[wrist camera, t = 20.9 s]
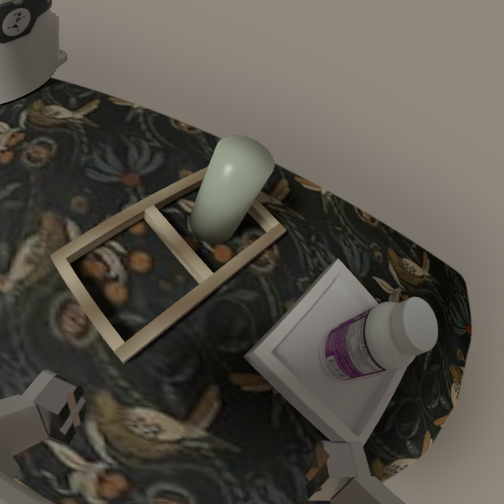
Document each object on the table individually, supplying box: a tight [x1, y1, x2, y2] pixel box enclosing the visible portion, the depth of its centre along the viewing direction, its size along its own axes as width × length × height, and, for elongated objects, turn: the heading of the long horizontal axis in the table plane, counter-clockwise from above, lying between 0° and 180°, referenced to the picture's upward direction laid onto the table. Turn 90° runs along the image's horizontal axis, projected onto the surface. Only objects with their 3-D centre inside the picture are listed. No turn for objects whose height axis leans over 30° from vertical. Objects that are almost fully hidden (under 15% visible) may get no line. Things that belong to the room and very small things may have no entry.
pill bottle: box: [320, 297, 438, 383], centre depth 22 cm, size 5×5×10 cm
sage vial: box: [189, 135, 274, 244], centre depth 25 cm, size 4×4×9 cm
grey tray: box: [243, 259, 407, 446], centre depth 25 cm, size 13×13×2 cm
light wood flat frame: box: [50, 167, 286, 364], centre depth 25 cm, size 10×19×1 cm, turn 137°
